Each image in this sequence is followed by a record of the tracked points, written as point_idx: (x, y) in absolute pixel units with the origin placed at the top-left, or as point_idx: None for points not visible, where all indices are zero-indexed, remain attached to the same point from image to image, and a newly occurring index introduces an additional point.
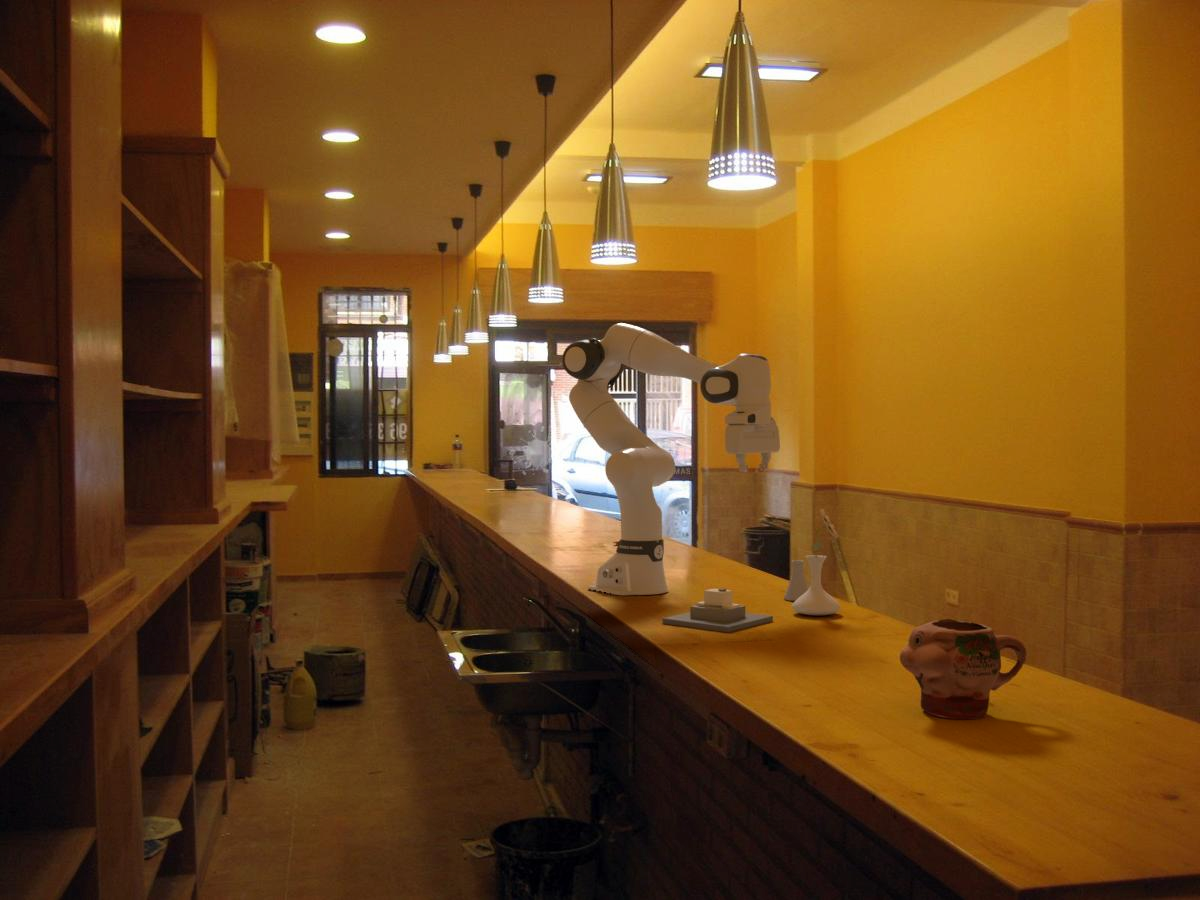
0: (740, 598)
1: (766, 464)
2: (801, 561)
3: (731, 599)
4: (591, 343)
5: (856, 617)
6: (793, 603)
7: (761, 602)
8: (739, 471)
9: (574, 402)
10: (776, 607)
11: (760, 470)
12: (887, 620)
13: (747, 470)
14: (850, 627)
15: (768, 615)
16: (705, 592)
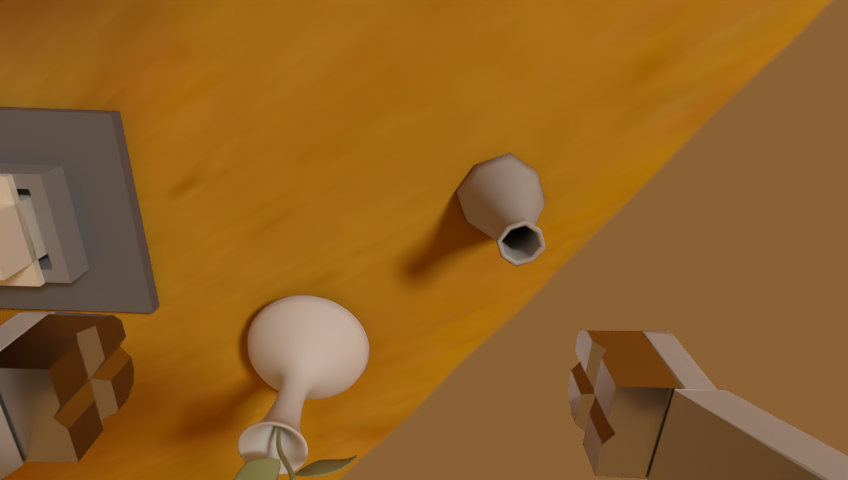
0: (420, 31)
1: (633, 467)
2: (536, 249)
3: (20, 267)
4: None
5: (338, 413)
6: (269, 312)
7: (390, 134)
8: (31, 315)
9: None
10: (339, 214)
11: (580, 335)
12: (347, 465)
13: (115, 399)
14: (225, 446)
15: (150, 302)
16: None
